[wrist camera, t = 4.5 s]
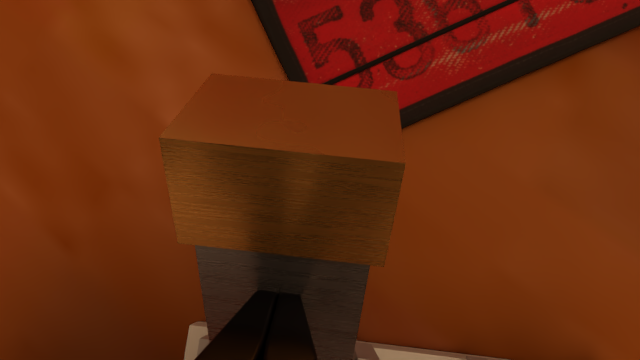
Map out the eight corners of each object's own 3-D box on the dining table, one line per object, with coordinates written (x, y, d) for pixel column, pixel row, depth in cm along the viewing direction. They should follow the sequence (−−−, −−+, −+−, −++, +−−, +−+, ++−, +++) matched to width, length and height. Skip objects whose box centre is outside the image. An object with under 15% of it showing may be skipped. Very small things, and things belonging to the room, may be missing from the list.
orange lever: (341, 467, 11) (405, 162, 6) (214, 450, 11) (159, 137, 6) (345, 381, 13) (397, 91, 8) (237, 367, 13) (211, 73, 8)
